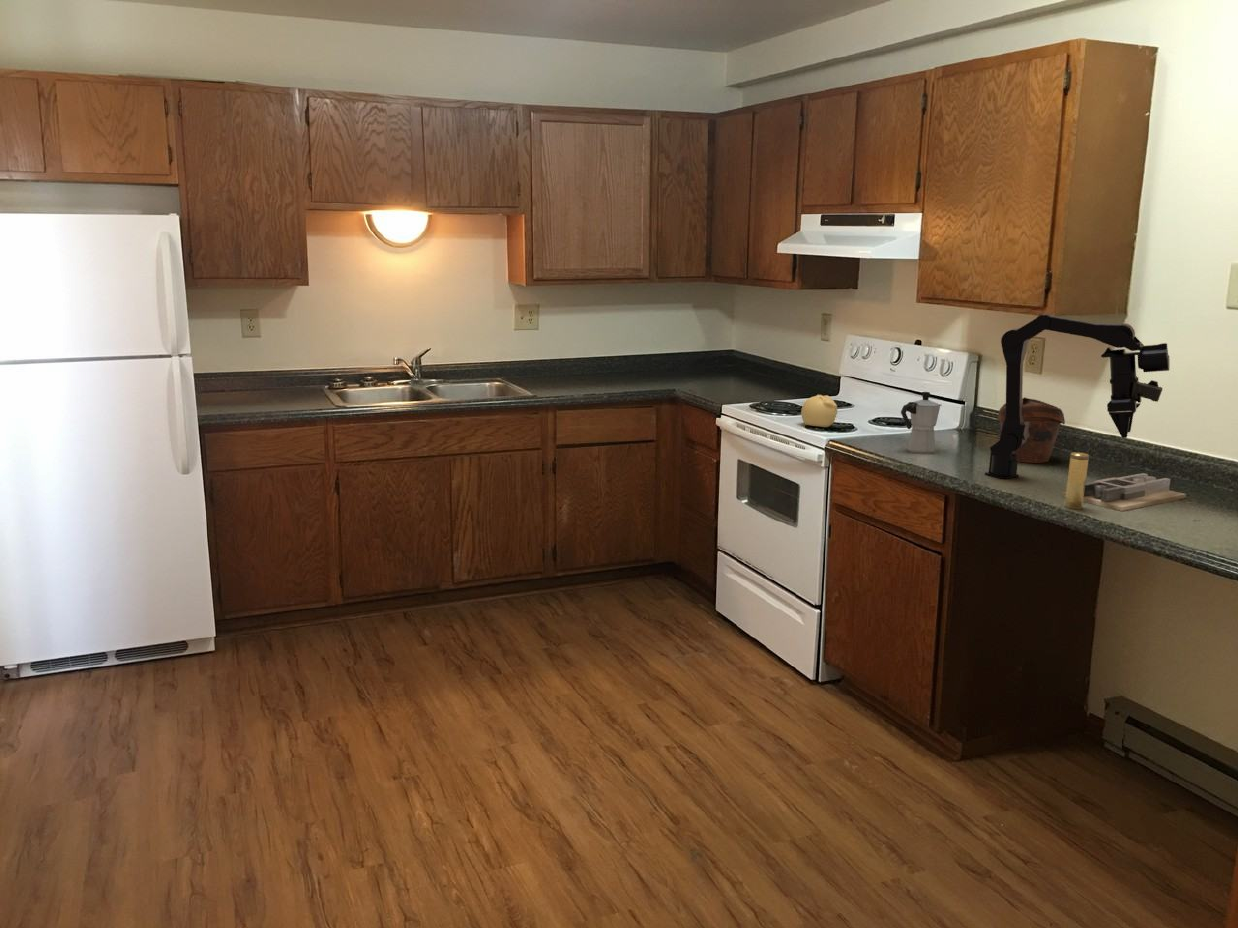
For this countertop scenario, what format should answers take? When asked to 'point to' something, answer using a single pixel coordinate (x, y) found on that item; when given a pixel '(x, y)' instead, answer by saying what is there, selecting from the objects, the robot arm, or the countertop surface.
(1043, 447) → the reddish brown pot
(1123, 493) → the grey slotted tray
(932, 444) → the coffee maker
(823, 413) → the tan round lump
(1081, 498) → the pin
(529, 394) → the countertop surface
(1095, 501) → the board
